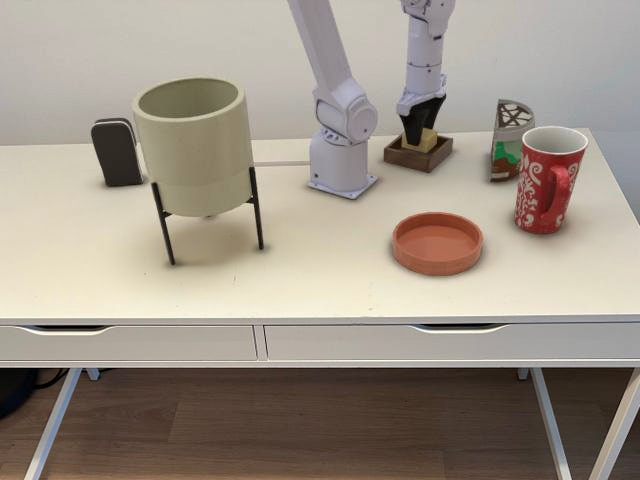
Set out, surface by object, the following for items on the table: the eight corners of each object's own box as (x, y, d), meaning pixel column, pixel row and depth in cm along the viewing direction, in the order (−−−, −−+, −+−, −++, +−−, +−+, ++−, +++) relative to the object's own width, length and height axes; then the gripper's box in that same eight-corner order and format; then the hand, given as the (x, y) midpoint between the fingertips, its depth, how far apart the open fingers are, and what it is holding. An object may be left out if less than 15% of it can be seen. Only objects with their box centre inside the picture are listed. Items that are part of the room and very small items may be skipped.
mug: (503, 206, 106) (517, 125, 97) (561, 205, 105) (581, 124, 96) (514, 251, 97) (531, 167, 88) (578, 251, 96) (601, 166, 87)
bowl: (376, 258, 98) (376, 244, 96) (417, 217, 105) (418, 203, 104) (457, 285, 92) (459, 271, 90) (494, 240, 100) (496, 226, 98)
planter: (253, 207, 110) (236, 66, 95) (270, 260, 99) (253, 110, 83) (163, 222, 109) (129, 81, 93) (169, 278, 97) (132, 128, 81)
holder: (383, 161, 120) (383, 148, 118) (407, 140, 125) (408, 128, 123) (429, 173, 115) (430, 159, 114) (452, 151, 121) (453, 138, 119)
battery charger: (146, 174, 121) (131, 113, 113) (143, 184, 118) (128, 123, 110) (108, 177, 121) (91, 116, 113) (104, 187, 118) (86, 126, 111)
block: (401, 147, 119) (402, 133, 117) (411, 138, 121) (412, 125, 119) (426, 153, 116) (427, 139, 115) (436, 144, 119) (437, 130, 117)
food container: (528, 188, 110) (539, 130, 103) (490, 186, 111) (499, 129, 104) (525, 153, 119) (535, 98, 112) (490, 152, 120) (498, 97, 113)
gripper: (426, 80, 103) (420, 161, 112) (465, 50, 111) (457, 127, 120) (386, 73, 106) (384, 152, 115) (427, 44, 114) (422, 120, 123)
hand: (419, 139), depth 118 cm, fingers closed on block, 4 cm apart
